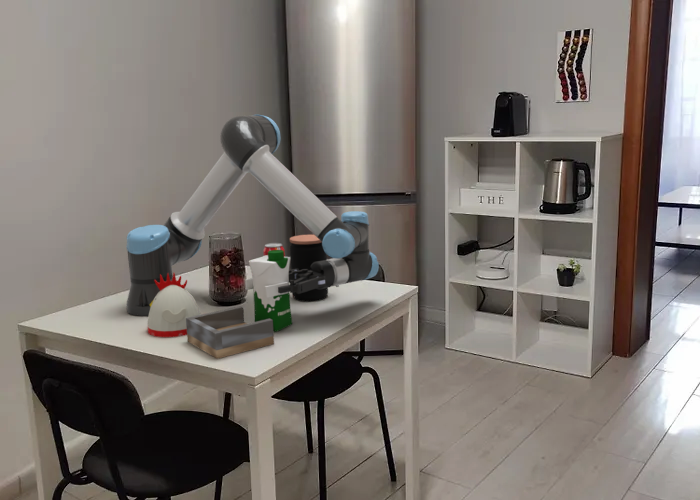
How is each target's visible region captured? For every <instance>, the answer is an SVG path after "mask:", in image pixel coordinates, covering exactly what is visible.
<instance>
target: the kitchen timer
mask: <svg viewBox="0 0 700 500" xmlns="http://www.w3.org/2000/svg"><path fill="white" fill-rule="evenodd" d="M172 276H173V278H172V281H170V278H169V274H167V280H166V282H165V281H164V280H163V278H162V276H161V274H160V283H158V282H157V281H156V280H155V283H156V285H157V286H158V288H159V289H160V291H159V292H158V294H157V295H156V296H155V298H154V300H153V301H152V302H151V304H150V312H149V316H148V317H147V333H148V334H149V335H151V336H153V337H155V338H157V337H158V338H177V337H184V336H187V327H186V318H188V317H193V316H197V315H202V314H201V311H200V309H199V305H198V304H197V302H196V300H195V297H194V296H193V295H192V294H191V292H190V291H188V290H187V289H186V287H187V283H188V279H186V280H185V282H184V283H183V284H181V283H182V276H181V275H180V276H179V277H178V279H177V277H176V272H172Z"/></svg>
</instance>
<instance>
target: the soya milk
mask: <svg viewBox="0 0 700 500" xmlns="http://www.w3.org/2000/svg"><path fill="white" fill-rule="evenodd" d="M284 251H285V250H284ZM284 251H283V250H271V251H268V255H265V256H260V257H256V258H254V259H251V260H248V264H249V268H250V272H251V276H252V277H251V278H253V289H252V290H253V305H254V307H253V308H254V311H253V312H254V314H253V315H254V319H253V320H254V322H257V321H261V320H265V319H272V320H273V332H276V333H277V332H279V331H281V330H283V329H285V328H288V327H289V326H291V325H293V317H292V311H291V296H290V295H291V294H290V292H289V293H286V294H281V295H277V296H272V297H267V298H266V297H265V286H269V285H274V284H279V283H284V282H289V270H290V266H291V258H290V256H285V257H284Z"/></svg>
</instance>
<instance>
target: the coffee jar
mask: <svg viewBox="0 0 700 500" xmlns="http://www.w3.org/2000/svg"><path fill="white" fill-rule="evenodd" d="M289 242H290V244H291V245H289V254H290V255H289V257H290V270H292V269H296V268H297V269H299V270H302V269H308V270H309V269H310V267H311V265H312V264H313V263H314V262H317V261H323V260H327V259H328V258H327V256H328V255H327V254H326V253H325V251H324V249H323V246H322V242H321V241H320V240H319V239H318V238H317V237H316V236H315V235H314V234H300V235H294V236H291V237H289ZM295 280H296V279H295ZM291 294H292V297H293V298H294V299H295V300H296V301H300V302H315V301H321V300H323V299H325V298H326V297H327V296H328V294H329V288H324V289H317V288H315V289H312V290H309V291H306V292H303V293H300V294H296V292H294V293H291Z"/></svg>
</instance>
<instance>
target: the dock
mask: <svg viewBox="0 0 700 500" xmlns="http://www.w3.org/2000/svg"><path fill="white" fill-rule="evenodd" d="M244 312H245V311H244V307H243V306H241V305H239V306H234V307H230V308H224V309H222V310H216V311H212V312H207V313H203V314H201V315H197V316H193V317H188V318H186V327H187V335H186V336H187V337H186V338H187V342H188V343H189V344H191V345H193V346H194V347H196V348H198V349H199V350H202V351H203V352H205V353H207V354H208V355H210V356H212V357H213V358H214V359H221V358H222V359H223V358H225V357H230V356H233V355H237V354H241V353H245V352H248V351H252V350H257V349H260V348H264V347H268V346H270V345H274V344H275V340H274V339H275V338H274V335H275V334H274V331H273V320H272V319H265V320H261V321H257V322H255V321H254V322H250V323H246V322H245V313H244Z"/></svg>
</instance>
